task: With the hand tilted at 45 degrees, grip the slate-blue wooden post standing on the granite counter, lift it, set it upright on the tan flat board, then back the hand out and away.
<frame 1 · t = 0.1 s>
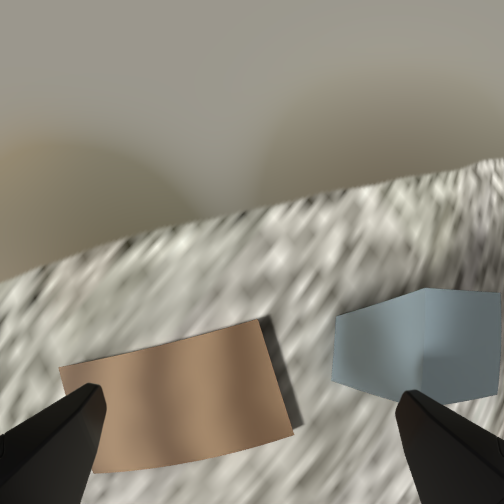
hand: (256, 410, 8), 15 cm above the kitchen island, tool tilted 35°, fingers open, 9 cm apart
slate-blue post: (363, 349, 23), on the kitchen island
tan flat board: (170, 404, 21), on the kitchen island
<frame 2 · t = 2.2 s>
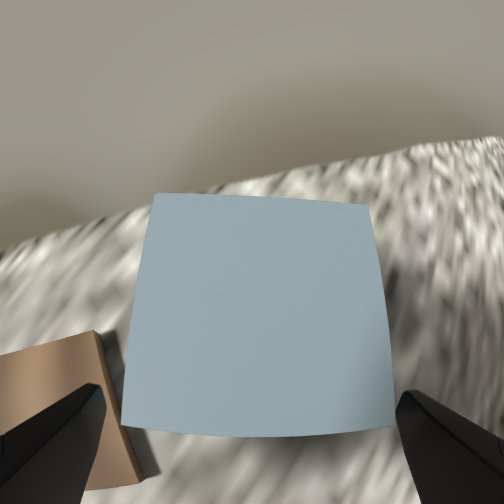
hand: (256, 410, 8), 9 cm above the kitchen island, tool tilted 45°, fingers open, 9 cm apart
slate-blue post: (241, 377, 17), on the kitchen island
tan flat board: (16, 426, 14), on the kitchen island
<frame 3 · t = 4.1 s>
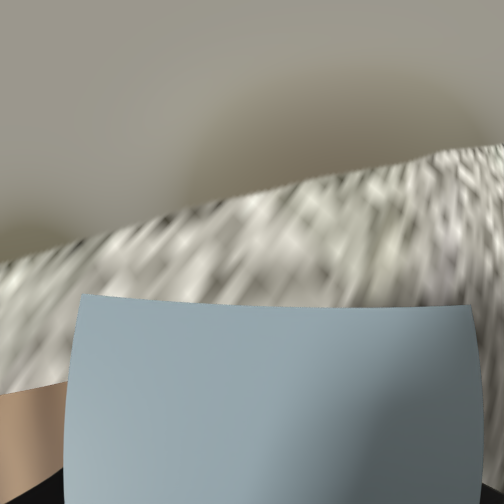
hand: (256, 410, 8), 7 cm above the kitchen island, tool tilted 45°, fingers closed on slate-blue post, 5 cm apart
slate-blue post: (245, 437, 13), on the kitchen island, touching gripper
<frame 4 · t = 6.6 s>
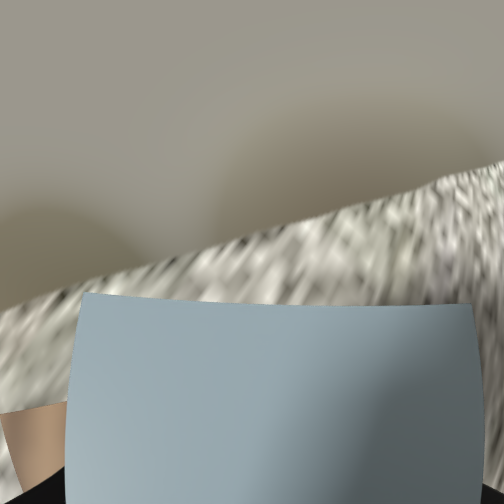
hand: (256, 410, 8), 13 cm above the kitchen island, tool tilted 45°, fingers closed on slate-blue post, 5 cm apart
slate-blue post: (245, 437, 13), point 6 cm above the kitchen island, touching gripper
tan flat board: (105, 458, 17), on the kitchen island
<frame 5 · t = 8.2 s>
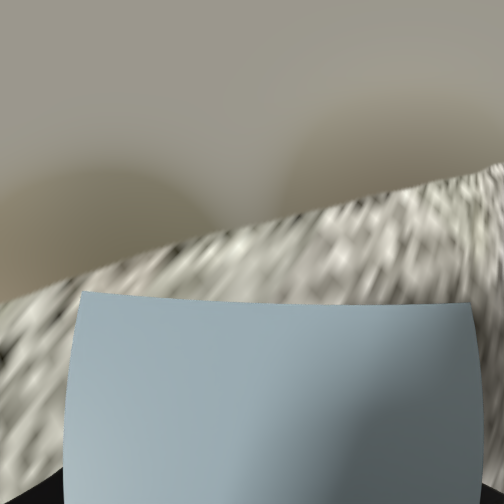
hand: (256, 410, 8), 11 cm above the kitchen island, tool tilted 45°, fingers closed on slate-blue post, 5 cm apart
slate-blue post: (245, 437, 13), point 4 cm above the kitchen island, touching gripper
when the fingers open (9 cm above the kitchen island, at t = 9.3 s): slate-blue post drops 1 cm, resting on tan flat board.
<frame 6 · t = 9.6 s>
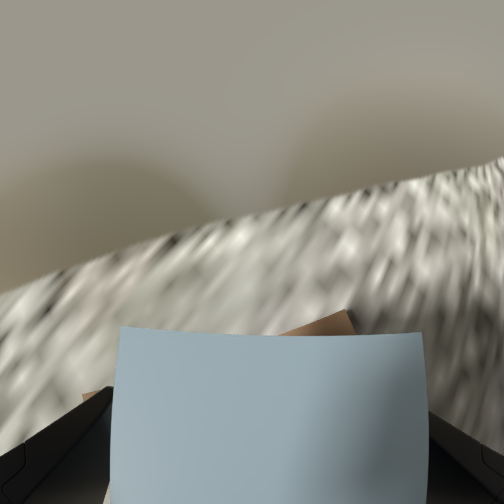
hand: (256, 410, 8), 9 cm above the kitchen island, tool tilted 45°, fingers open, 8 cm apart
slate-blue post: (244, 435, 15), point 1 cm above the kitchen island, touching tan flat board
tan flat board: (243, 433, 16), on the kitchen island
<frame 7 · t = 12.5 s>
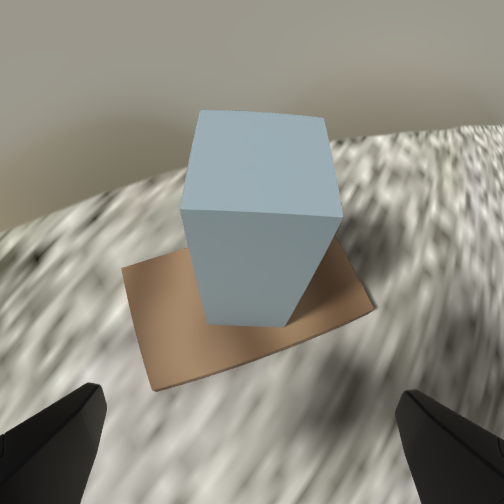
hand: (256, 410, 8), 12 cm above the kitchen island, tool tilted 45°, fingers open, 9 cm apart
slate-blue post: (246, 290, 22), point 1 cm above the kitchen island, touching tan flat board
tan flat board: (245, 296, 23), on the kitchen island
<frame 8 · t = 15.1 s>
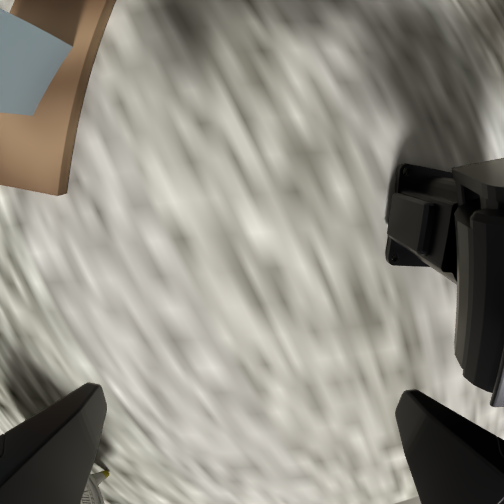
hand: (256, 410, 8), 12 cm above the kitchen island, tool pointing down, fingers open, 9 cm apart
slate-blue post: (29, 68, 14), point 1 cm above the kitchen island, touching tan flat board
tan flat board: (38, 71, 15), on the kitchen island
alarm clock: (66, 450, 26), on the kitchen island
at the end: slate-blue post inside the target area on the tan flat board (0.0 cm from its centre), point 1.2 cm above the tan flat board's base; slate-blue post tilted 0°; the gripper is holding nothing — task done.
